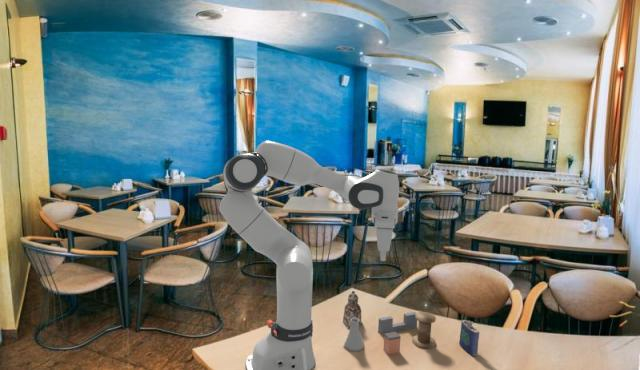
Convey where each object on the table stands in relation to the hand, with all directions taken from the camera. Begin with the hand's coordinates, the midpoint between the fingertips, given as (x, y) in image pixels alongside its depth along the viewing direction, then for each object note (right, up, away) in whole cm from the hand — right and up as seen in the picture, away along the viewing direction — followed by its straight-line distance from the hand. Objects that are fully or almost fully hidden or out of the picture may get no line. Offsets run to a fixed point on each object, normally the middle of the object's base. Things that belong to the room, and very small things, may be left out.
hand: (382, 255), depth 143 cm
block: (+3, -33, +1) cm, 33 cm away
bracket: (+8, -31, +15) cm, 35 cm away
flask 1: (-10, -33, +3) cm, 34 cm away
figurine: (-9, -30, +20) cm, 37 cm away
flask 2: (+30, -34, +3) cm, 45 cm away
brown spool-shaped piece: (+16, -32, +7) cm, 37 cm away
